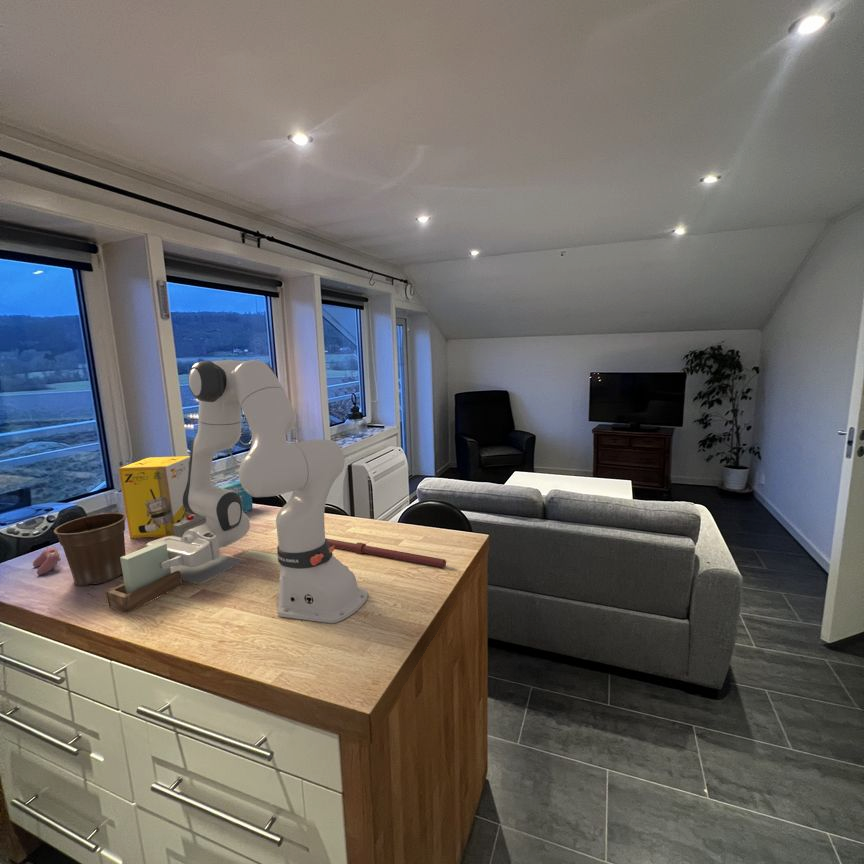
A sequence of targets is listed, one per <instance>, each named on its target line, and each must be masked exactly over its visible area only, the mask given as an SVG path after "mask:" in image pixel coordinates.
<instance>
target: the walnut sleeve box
mask: <svg viewBox="0 0 864 864" xmlns="http://www.w3.org/2000/svg"><path fill="white" fill-rule="evenodd" d="M182 581H183V580H181V575H180V571H175V572H173V573H171V574H169V575H167V576H165V577H163V578H161V579H158V580H156V581H154V582H152V583H150V584H148V585H146V586H143V587H141V588H139V589H137V590H135V591H133V592H131V593H129V594H126V589H125V583H122V584H119V585H117V586H115V587H112V588H110V589H108V590H106V591H105V595H106V600H107V605H108V607H109V608H112V609H115V610H118V611H121V612H123V613H126V614H128V613H130V612H133V611H134V610H136V609H138V608H139V607H143V606H144V605H145V603H146V604H148V603H150V602H152V601H154V600H155V598H156V599H157V597H158V598H160V597H162V596H164V595H166V594H168V593H170V592H172V591H173V590H175V589H178V588H179V587H181V586H183V582H182ZM177 587H178V588H177ZM167 592H168V593H167ZM163 594H164V595H163ZM161 595H162V596H161ZM159 596H160V597H159ZM153 599H154V600H153ZM151 600H152V601H151ZM149 601H150V602H149ZM147 602H148V603H147Z"/></svg>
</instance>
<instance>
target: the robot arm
mask: <svg viewBox="0 0 864 864" xmlns="http://www.w3.org/2000/svg"><path fill="white" fill-rule="evenodd" d="M188 386H189V390H190V393H191V394H192V396H193V397H195V399H197V400H198V401H199V404H198V426H197V427H198V428H197V433H196V434H195V436H194V437H193V440H192V443H191V448H190V452H189V456H190V462H189V472H188V481H187V485H186V489H185V492H184V495H183V506H184V508H185V510H186V511H187V512H189V513H191V514H195V515H199V516H202V517H205V518H206V522H205V523H204V524H202V525H199V526H197V527H194V528H192V529H189V530H187V531H185V532H184V534H183V537H182V538H181V537H176V536H167V537H159V538H157V539H155V540H151V541H148V542H147V543H146V544H145V546H144V548H145V547H148V546H150V545H153V544H155V543H158V542H162V543H166V544H167V550H168V557H169V560H164V561H162V562H160V563H159V565H160V568H161V569H167V568H169V567H170V568H173V567H175V566H179V565H184V566H188V567H196V566H199V565H201V564H204V563H206V562H208V561H210V560H214V559H217V558H219V554H220V549H221V548H225V547H228V546H230V545H231V544H234V543H236V542H237V541H239V540H241V539H242V538H244V537H245V536H246V534H248V532H249V530H250V527H251V522H250V519H249V516H248V515H247V514H246V512H243V510H242V500H241V497H240V496H239V495H238V494H237V493H235V492H232V491H230V490H227V489H223V488H220V487H218V486H216V485H215V484H214V483H213V482H212V480H211V474H212V467H213V466H212V465H213V464H212V463H213V458H214V455H215V454H216V453H218V452H223V451H226V450H229V449H231V448H233V447H234V446H235V445H236V444H237V443H238V441H240V438H241V435H242V412H243V414H244V416H245V420H246V421H247V424H248V427H249V431H250V433H251V445H250V449H249V451H248V453H247V454H246V455H245V457H243V459H242V460H241V463H240V465H239V469H238V481H240V483H241V485H242V487H243V488H244V490H245V491H246V492H247V493H248V494H250V495H251V496H252V498H266V497H267V498H269V497H276V496H281V495H283V494H287V493H291V492H292V493H291V496H290V498H289V500H288V501H287V502H286V503H285V504H284V505H283V506H282V507H281V508H280V509H279V511H278V513H277V515H276V520H275V523H276V533H277V542H278V545H277V548H276V551H277V553H276V555H277V561H278V563H279V580H278V581H279V584H278V585H279V587H278V589H279V590H278V596H277V600H276V601H277V602H276V603H277V606H278V607H277V616H278V617H282V618H290V619H296V620H302V621H303V620H304V621H309V622H310V621H312V622H319V623H325V624H326V623H327V624H336V623H338V622H341V621H343V620H346V619H347V618H349V617H351V615H353V614H355V613H356V612H357V611H358V610H360V608H361V607H362V606H363V605H364V604H366V601H367V600H368V597H369V593H368V590H367V589H364V588H362V587H359V586H358V581H357V578H356V575H355V573H354V572H353V571H352V570H350V569H349V567H348V566H347V565H344V564H343V563H342V562H341V561H340V560H339V559H337V558H336V557H335V556H334V554H333V552H334V551H336V548H335V545H334V546H332V547H330V546H329V543H328V541H327V539H328V538H327V537H326V529H325V509H326V503H327V499H328V496H329V494H330V490H331V488H332V487H333V484H334V483H335V481H337V480H336V479H338V477H339V476H340V475H341V474H342V472H343V470H344V468H345V453H344V451H343V449H342V447H341V446H340V445H339V444H338V443H337V442H336V441H335V440H332V439H320V438H319V439H316V438H314V439H310V440H305V441H299V442H295V443H289V442H288V440H287V438H286V436H287V435H288V434H289V433H290V432H291V431H292V430H293V429H294V427H295V426H296V422H297V415H296V411H295V409H294V407H293V404H292V403H291V401H290V400H289V397H288V395H287V393H286V391H285V389H284V387H283V386H282V384H281V382H280V380H279V379H278V377H277V376H276V373H275V371H274V369H273V367H272V366H271V365H269V364H268V363H266V362H263V361H261V360H258V359H251V360H250V359H248V360H234V359H225V360H224V359H223V360H213V361H211V360H203V361H200V362H196V363H194V364H193V365H192V367H191V368H190V370H189V373H188ZM326 538H327V539H326Z"/></svg>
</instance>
